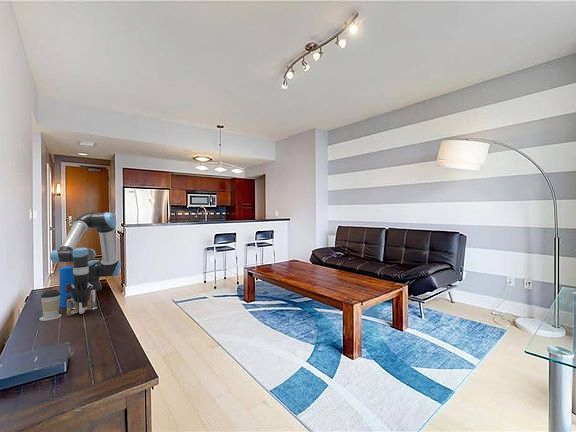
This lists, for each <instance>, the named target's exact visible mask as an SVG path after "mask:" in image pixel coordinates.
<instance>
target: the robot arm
mask: <svg viewBox="0 0 576 432" xmlns="http://www.w3.org/2000/svg"><path fill="white" fill-rule="evenodd" d="M116 228H117V218H116V216H115V214H114V213H113V212H108V211H105V212H86V213H83V214H80V215H79V216H78V217H76V219H74V221H73V222H72V223H71V228H70V229H69V230H70V231H69V232H68V234H67V235H66V236H65V239H64V240H63V242H62V243H61V245H60V247H59V248H58V249H55V250H54V249H53V250H52V251H51V253H50V254H49V255H50V257H49V258H50V262H52V263H72V266H73V274H75V275H73V281H74V283H73V285H72V286H69V288H70V289H71V292H72V295H73V299H74V302H78V309H79V312H78V313H79V314H82V315H83V313H85V312H86V310H85V307H86V305H87V304H86V303H87V302H88V300H89V298H90V294H91V290H95V293H97V292H100V291H102V290H103V286H102V283H101V281H100V278H102V277H117V276H119V275H120V272H121V268H122V262H121V261H120V260H119V259H118V257H116V251H115V243H114V242H115V241H114V236H113V235H114V234H113V232H114V231H115V229H116ZM88 229H95V231H96V233H98V237H99V243H100V250H101V257H102V259H101V260H100V259H95V258H96V255H97V252H96V250H94V249H93V248H87V247H77V246H78V244H79V242H80V240H81V238H82V236H83V235H84V233H85V232H86V231H87V230H88ZM75 287H76V288H75Z"/></svg>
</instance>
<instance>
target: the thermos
mask: <svg viewBox="0 0 576 432" xmlns="http://www.w3.org/2000/svg"><path fill="white" fill-rule="evenodd" d="M58 275H59V278H58V279H59V289H58V292H60V294H61V295H60V306H59V308H67V300H69V299H73V295H72V292H71V289H70V288H69V286H72V285H73V283H74V281H73V275H75V274H73V265H70V266H63V267H59V273H58ZM75 288H76V287H75ZM71 307H73V302H71Z"/></svg>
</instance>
